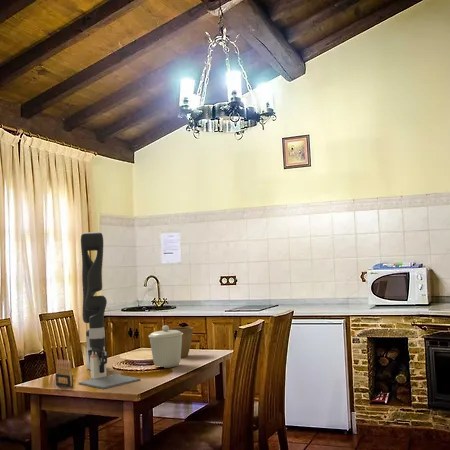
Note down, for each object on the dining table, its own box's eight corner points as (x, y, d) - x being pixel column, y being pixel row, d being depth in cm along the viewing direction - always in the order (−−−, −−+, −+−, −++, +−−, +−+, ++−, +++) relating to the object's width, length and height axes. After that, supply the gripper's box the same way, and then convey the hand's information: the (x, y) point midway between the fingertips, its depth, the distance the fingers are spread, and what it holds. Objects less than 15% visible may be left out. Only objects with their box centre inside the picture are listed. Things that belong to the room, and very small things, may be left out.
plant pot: (196, 357, 308) (195, 328, 309) (170, 359, 305) (168, 330, 306) (192, 353, 323) (190, 325, 324) (166, 355, 319) (165, 328, 320)
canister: (179, 369, 275) (176, 327, 276) (144, 370, 278) (142, 328, 280) (188, 362, 292) (186, 322, 294) (156, 363, 296) (154, 323, 297)
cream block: (90, 378, 265) (89, 355, 266) (103, 375, 270) (102, 353, 271) (94, 378, 263) (93, 355, 264) (106, 376, 268) (105, 353, 269)
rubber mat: (78, 384, 253) (78, 382, 253) (115, 375, 268) (115, 374, 268) (103, 389, 240) (103, 387, 240) (140, 380, 254) (140, 378, 254)
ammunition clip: (73, 386, 249) (72, 359, 250) (69, 387, 248) (68, 360, 249) (59, 384, 256) (58, 358, 257) (55, 385, 254) (54, 358, 255)
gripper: (82, 337, 270) (83, 372, 269) (98, 338, 261) (100, 375, 259) (95, 335, 276) (96, 369, 275) (112, 336, 266) (113, 372, 265)
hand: (98, 372), depth 267 cm, fingers open, 5 cm apart
